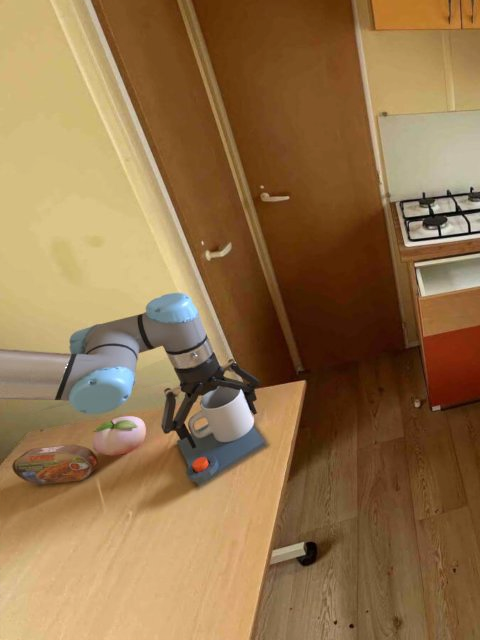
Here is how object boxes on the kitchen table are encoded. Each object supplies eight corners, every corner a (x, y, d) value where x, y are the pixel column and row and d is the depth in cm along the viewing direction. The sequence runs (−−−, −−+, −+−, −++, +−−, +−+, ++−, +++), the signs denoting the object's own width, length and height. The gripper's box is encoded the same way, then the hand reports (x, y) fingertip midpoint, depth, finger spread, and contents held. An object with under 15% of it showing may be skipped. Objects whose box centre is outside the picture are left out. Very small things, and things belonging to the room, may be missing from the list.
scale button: (197, 474, 91) (194, 469, 91) (193, 467, 93) (190, 462, 92) (210, 466, 93) (208, 461, 92) (207, 459, 95) (204, 454, 94)
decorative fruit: (160, 431, 105) (144, 402, 100) (145, 459, 98) (127, 429, 93) (116, 439, 102) (97, 410, 98) (96, 469, 95) (75, 439, 91)
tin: (23, 485, 92) (1, 460, 88) (36, 472, 95) (15, 447, 91) (97, 479, 93) (79, 454, 89) (107, 466, 96) (90, 441, 92)
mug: (246, 409, 109) (233, 377, 104) (260, 426, 104) (247, 394, 99) (193, 439, 101) (176, 406, 96) (205, 459, 96) (188, 425, 91)
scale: (195, 491, 91) (190, 482, 89) (174, 446, 101) (170, 438, 99) (267, 447, 101) (263, 438, 99) (241, 410, 111) (238, 402, 109)
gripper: (125, 399, 82) (167, 471, 91) (260, 339, 98) (283, 405, 108) (118, 380, 86) (158, 451, 96) (248, 326, 102) (271, 391, 112)
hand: (224, 427), depth 102 cm, fingers open, 12 cm apart
